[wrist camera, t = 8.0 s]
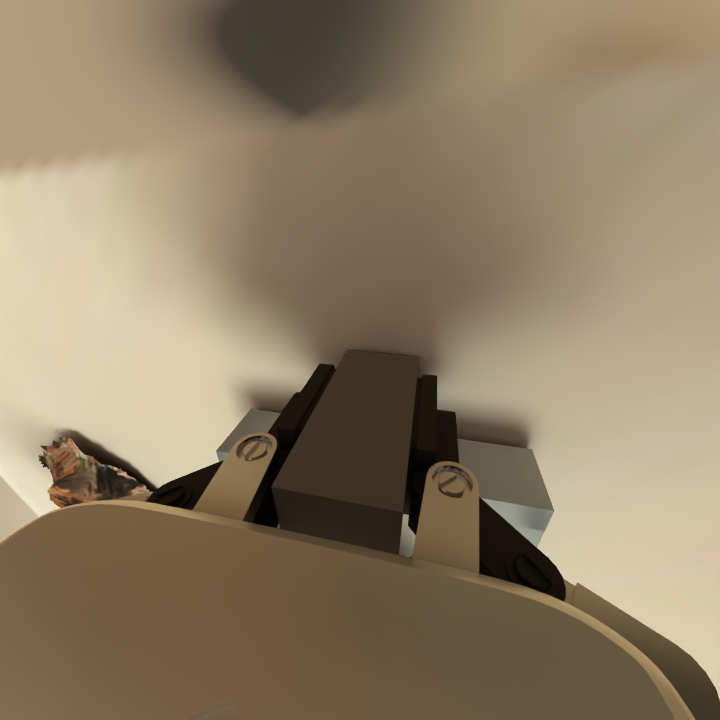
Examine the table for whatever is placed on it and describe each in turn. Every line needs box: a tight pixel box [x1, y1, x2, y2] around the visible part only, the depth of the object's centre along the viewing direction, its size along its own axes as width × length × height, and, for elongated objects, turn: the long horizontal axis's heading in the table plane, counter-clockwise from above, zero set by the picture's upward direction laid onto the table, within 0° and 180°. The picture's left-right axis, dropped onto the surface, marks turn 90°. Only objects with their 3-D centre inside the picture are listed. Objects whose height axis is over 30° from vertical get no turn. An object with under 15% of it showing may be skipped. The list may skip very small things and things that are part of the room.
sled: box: [216, 350, 554, 555], centre depth 16 cm, size 13×26×7 cm, turn 0°
